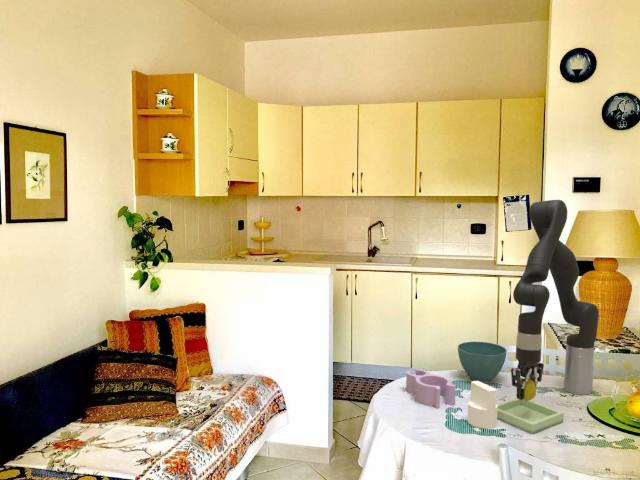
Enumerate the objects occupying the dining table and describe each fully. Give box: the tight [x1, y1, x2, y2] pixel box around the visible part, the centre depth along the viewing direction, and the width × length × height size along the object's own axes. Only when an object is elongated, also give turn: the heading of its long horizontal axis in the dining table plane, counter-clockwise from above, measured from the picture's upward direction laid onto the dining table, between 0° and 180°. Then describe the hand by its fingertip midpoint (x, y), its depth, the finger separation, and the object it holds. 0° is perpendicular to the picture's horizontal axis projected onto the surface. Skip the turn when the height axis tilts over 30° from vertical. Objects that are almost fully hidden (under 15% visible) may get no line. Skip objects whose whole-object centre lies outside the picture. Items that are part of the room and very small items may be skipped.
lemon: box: [521, 378, 537, 402], centre depth 174 cm, size 6×6×8 cm
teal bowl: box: [457, 341, 508, 383], centre depth 212 cm, size 18×18×12 cm
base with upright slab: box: [467, 380, 498, 430], centre depth 172 cm, size 9×9×12 cm
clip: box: [405, 368, 456, 409], centre depth 193 cm, size 20×12×7 cm, turn 26°
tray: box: [496, 397, 564, 435], centre depth 175 cm, size 16×16×3 cm
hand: (526, 396), depth 175 cm, fingers closed on lemon, 5 cm apart
